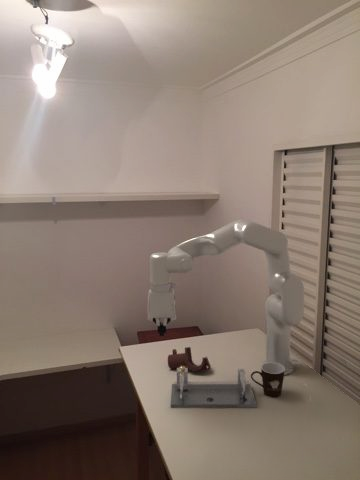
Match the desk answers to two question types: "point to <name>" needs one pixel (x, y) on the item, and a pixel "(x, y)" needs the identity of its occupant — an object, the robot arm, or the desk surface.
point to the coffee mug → (271, 378)
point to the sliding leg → (182, 379)
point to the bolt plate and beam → (215, 394)
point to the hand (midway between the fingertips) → (162, 334)
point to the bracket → (187, 361)
